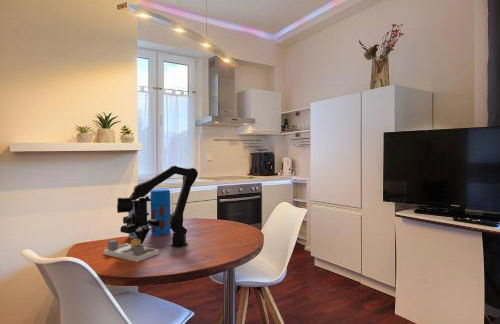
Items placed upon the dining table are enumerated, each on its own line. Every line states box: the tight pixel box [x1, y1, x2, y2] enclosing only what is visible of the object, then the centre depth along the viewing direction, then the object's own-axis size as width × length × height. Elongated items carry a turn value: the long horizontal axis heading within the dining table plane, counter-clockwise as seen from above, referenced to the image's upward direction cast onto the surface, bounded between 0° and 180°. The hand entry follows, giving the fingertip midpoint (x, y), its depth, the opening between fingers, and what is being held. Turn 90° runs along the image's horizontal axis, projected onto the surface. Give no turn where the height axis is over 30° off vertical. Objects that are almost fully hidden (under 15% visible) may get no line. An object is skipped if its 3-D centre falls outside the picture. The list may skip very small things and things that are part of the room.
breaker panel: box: [103, 239, 159, 263], centre depth 142 cm, size 12×22×6 cm, turn 60°
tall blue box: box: [150, 189, 171, 237], centre depth 179 cm, size 11×11×25 cm
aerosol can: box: [127, 202, 139, 239], centre depth 173 cm, size 8×8×20 cm
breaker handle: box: [130, 238, 142, 248], centre depth 144 cm, size 3×3×4 cm
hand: (141, 244), depth 147 cm, fingers closed
